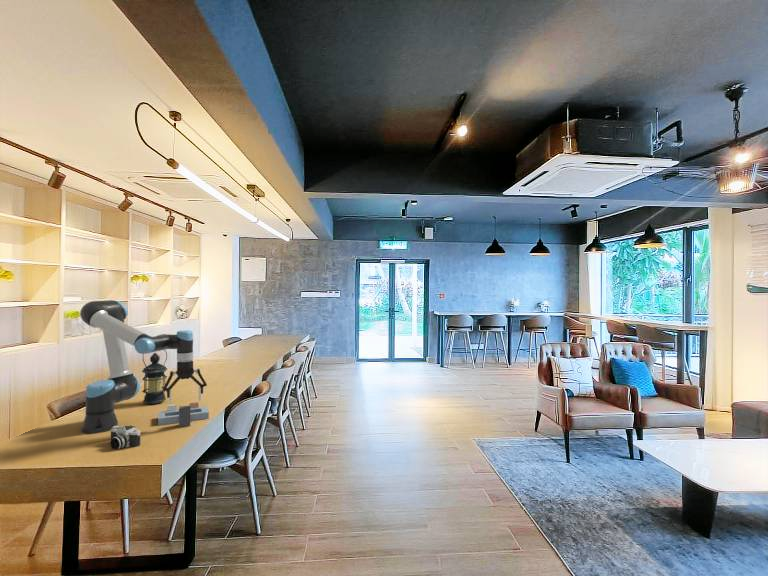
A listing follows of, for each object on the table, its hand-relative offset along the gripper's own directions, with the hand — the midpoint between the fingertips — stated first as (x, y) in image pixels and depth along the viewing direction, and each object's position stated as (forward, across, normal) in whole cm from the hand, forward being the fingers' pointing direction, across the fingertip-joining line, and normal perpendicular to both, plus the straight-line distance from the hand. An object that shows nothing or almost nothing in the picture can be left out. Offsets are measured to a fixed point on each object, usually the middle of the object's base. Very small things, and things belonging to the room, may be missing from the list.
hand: (185, 402), depth 208 cm
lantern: (+12, -15, +56) cm, 59 cm away
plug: (+13, 0, 0) cm, 13 cm away
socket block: (+12, 0, +13) cm, 18 cm away
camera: (+13, -27, -17) cm, 34 cm away
